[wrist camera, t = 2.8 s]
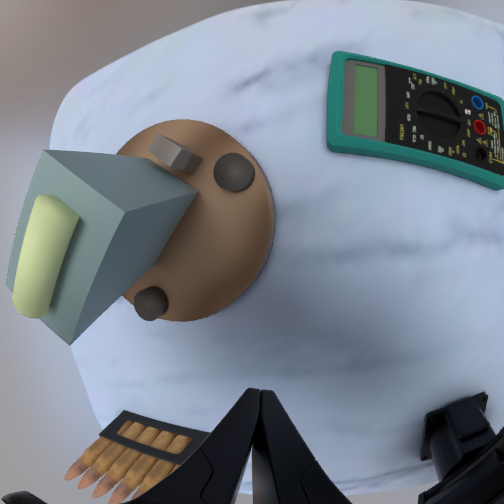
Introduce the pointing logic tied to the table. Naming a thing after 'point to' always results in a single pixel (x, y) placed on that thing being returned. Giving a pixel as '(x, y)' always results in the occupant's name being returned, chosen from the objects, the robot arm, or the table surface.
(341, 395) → the table surface
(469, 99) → the digital multimeter
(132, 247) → the post
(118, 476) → the ammunition clip
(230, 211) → the levelling base
